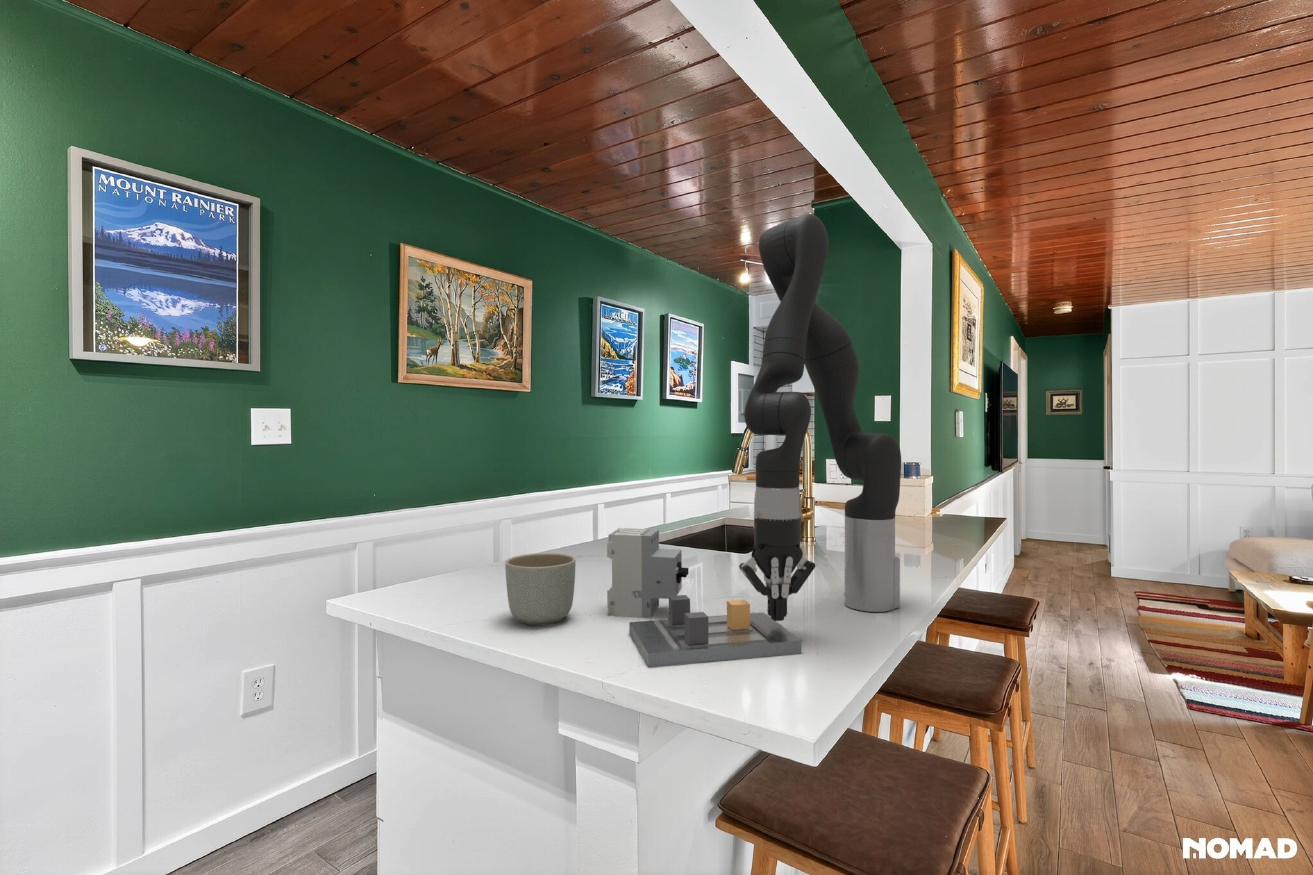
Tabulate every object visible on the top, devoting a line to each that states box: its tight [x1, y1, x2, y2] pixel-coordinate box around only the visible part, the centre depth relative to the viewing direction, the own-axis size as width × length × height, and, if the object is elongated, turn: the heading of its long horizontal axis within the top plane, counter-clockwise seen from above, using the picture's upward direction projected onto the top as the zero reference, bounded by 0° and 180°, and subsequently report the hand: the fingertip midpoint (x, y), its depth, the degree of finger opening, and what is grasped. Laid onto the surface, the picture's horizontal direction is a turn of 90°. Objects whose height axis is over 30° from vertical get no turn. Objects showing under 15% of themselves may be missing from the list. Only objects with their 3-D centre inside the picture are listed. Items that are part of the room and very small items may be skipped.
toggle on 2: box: [684, 611, 709, 645], centre depth 97 cm, size 3×3×4 cm
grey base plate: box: [628, 611, 803, 668], centre depth 103 cm, size 24×15×2 cm, turn 103°
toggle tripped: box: [726, 599, 751, 630], centre depth 104 cm, size 3×3×4 cm
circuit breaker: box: [606, 527, 690, 619], centre depth 120 cm, size 8×14×15 cm, turn 78°
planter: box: [504, 552, 577, 626], centre depth 115 cm, size 12×12×11 cm
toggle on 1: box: [668, 594, 691, 624], centre depth 107 cm, size 3×3×4 cm
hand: (777, 619), depth 105 cm, fingers closed
